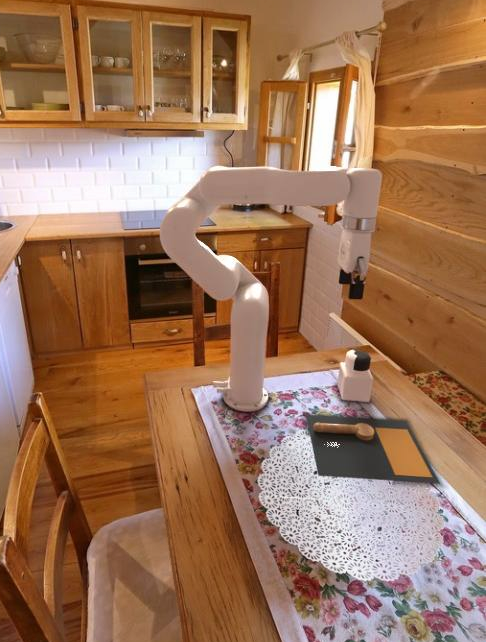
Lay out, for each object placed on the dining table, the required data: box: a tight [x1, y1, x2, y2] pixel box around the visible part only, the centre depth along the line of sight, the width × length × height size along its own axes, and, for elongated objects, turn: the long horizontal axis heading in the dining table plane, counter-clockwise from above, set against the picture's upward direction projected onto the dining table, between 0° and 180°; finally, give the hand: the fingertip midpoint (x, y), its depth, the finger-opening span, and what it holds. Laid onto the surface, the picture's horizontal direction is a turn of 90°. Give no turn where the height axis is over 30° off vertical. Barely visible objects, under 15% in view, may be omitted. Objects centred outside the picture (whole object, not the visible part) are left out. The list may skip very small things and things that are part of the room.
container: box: [336, 349, 374, 403], centre depth 115 cm, size 8×8×13 cm
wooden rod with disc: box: [313, 423, 374, 440], centre depth 101 cm, size 15×5×2 cm, turn 86°
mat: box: [305, 414, 441, 485], centre depth 98 cm, size 26×20×1 cm
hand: (349, 291), depth 100 cm, fingers open, 9 cm apart
